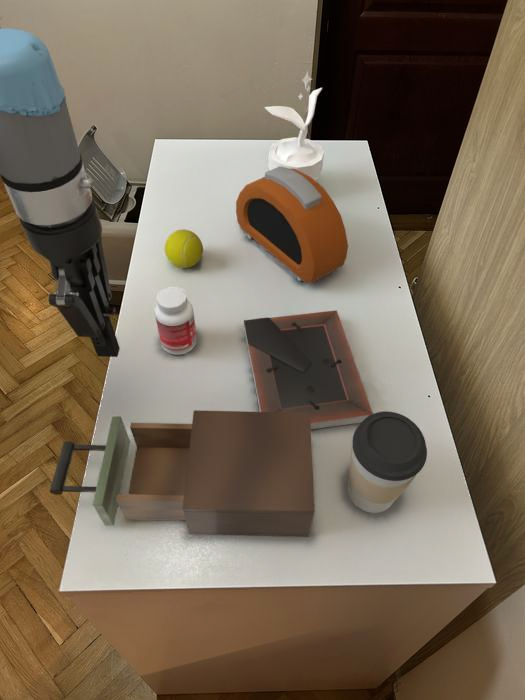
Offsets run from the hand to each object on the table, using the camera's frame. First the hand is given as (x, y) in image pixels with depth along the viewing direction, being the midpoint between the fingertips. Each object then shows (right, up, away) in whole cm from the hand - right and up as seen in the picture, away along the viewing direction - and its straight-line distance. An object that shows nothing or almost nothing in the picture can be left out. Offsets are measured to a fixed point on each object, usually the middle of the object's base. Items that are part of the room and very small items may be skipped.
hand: (108, 352), depth 72 cm
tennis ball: (+6, +17, +32) cm, 36 cm away
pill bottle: (+7, +1, +19) cm, 20 cm away
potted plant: (+27, +35, +47) cm, 65 cm away
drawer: (+4, -18, +2) cm, 19 cm away
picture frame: (+27, -4, +15) cm, 32 cm away
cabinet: (+19, -19, +3) cm, 27 cm away
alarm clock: (+26, +20, +34) cm, 47 cm away
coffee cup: (+36, -19, +3) cm, 41 cm away
